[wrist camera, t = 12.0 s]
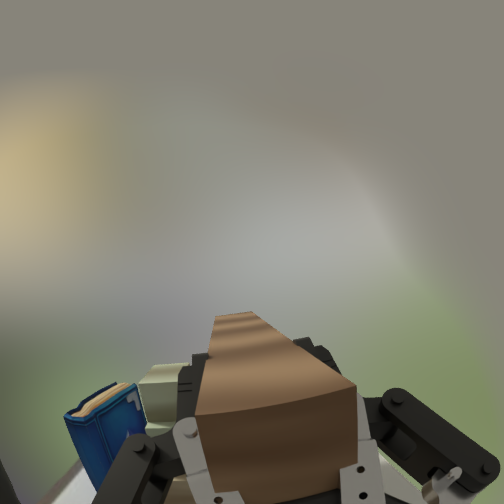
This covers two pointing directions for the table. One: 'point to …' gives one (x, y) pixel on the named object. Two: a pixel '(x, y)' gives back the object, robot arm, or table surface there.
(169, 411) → the birch rack
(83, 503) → the table surface
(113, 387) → the book
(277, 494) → the walnut block
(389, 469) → the grey rectangular block
